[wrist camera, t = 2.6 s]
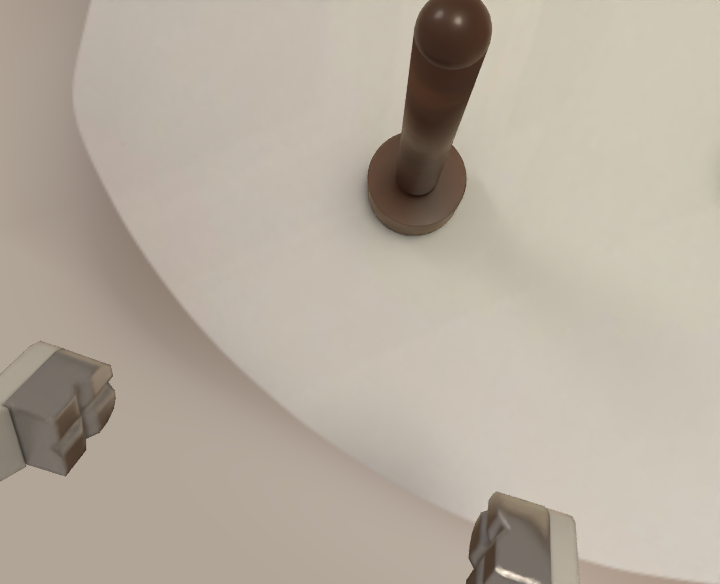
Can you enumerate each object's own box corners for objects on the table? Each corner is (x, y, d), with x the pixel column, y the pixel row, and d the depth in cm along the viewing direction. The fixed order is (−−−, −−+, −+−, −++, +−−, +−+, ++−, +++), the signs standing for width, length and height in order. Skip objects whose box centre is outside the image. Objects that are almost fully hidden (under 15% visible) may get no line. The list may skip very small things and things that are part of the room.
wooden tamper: (372, 240, 32) (371, 113, 15) (364, 151, 33) (352, -69, 15) (464, 231, 32) (569, 92, 15) (454, 142, 32) (543, -91, 15)
